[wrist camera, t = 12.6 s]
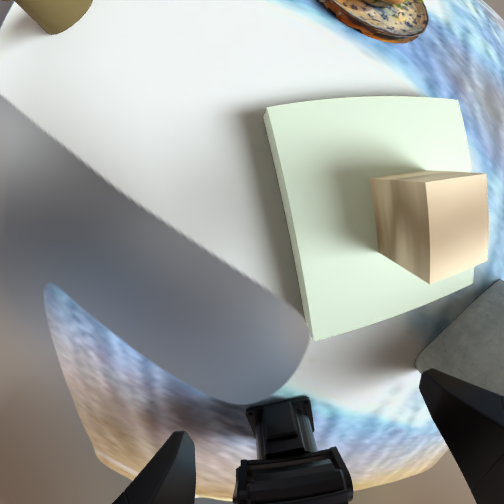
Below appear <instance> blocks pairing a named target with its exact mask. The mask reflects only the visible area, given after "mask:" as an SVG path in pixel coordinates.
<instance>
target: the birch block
mask: <svg viewBox="0 0 504 504" xmlns="http://www.w3.org/2000/svg"><path fill="white" fill-rule="evenodd" d="M369 180H370V186H371V193H372V199H373V206H374V214H375V222H376V231H377V241H378V253H380V254H382V255H383V256H385V257H387V258H388V259H390V260H392V261H393V262H395V263H396V264H398V265H400V266H401V267H403V268H404V269H406V270H408V271H409V272H411V273H412V274H414V275H416V276H417V277H419V278H420V279H422V280H423V281H425V282H426V283H428V284H429V285H430V284H433V283H435V282H438V281H440V280H443V279H445V278H448V277H450V276H453V275H455V274H458V273H460V272H462V271H465V270H467V269H469V268H472V267H474V266H476V265H479V264H481V263H483V262H485V261H487V257H488V234H489V215H488V192H487V180H486V174H483V173H471V172H455V171H432V170H425V171H417V172H410V173H403V174H396V175H390V176H383V177H377V178H371V179H369Z"/></svg>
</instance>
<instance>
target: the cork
mask: <svg viewBox="0 0 504 504" xmlns="http://www.w3.org/2000/svg"><path fill="white" fill-rule="evenodd" d="M3 1H10V0H3ZM14 1H15V2H16V3H17V4H18V5H19V6H20V7H21V8H22V9H23V10H24V11H25V12H26V13H27V14H28V15H29V16H31V17H32V18H33V19H34V20H35V21H36V22H37V23H38V24H39V25H40V26H41V27H42V28H43V29H44V30H45V31H46V32H47V33H49V34H51V35H52V34H58V33H61V32H63V31H65V30H66V29H68V28H69V27H71V26H72V25H73V24H75V23H76V22H77V21H78V20H79V19H80V18H81V17H82V16H83V15H84V14H85V13H86V11H87V10H88V9H89V7H90V6H91V3H92V1H93V0H14Z"/></svg>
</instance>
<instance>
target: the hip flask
mask: <svg viewBox="0 0 504 504" xmlns="http://www.w3.org/2000/svg"><path fill="white" fill-rule="evenodd" d="M415 367H416V368H417V369H418V371H419V372H420V373H421V374H422V372H423V371H425V370H427V369H429V368H434V369H437V370H439V371H442V372H444V373H446V374H449V375H451V376H454V377H456V378H459V379H461V380H464V381H466V382H469V383H471V384H474V385H476V386H479V387H481V388H484V389H487V390H489V391H492V392H494V393H497V394H500V395H503V396H504V281H502V280H498V281H496V282H495V283H494V284H493V285H492V286H490V287H489V288H488V289H487V290H486V291H485V292H483V293H482V294H481V295H480V296H479V297H478V298H477V299H476V300H475V301H473V302H472V303H471V304H470V305H469V306H468V307H467V308H466V309H465V310H464V311H463V312H462V313H461V314H460V315H459V316H458V317H457V318H455V319H454V320H453V321H452V322H451V323H450V324H449V325H448V326H447V327H446V328H445V329H444V330H443V331H442V332H441V333H440V334H439V335H438V336H437V337H436V338H435V339H434V340H433V341H432V342H431V343H430V344H429V345H428V346H427V347H426V348H425V349H424V350H423V351H422V352H421V353H420V354H419V355H418V357H417V359H416V361H415Z"/></svg>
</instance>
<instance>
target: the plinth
mask: <svg viewBox="0 0 504 504" xmlns="http://www.w3.org/2000/svg"><path fill="white" fill-rule="evenodd" d="M263 120H264V124H265V128H266V132H267V136H268V140H269V144H270V148H271V152H272V157H273V161H274V165H275V170H276V174H277V178H278V183H279V187H280V192H281V197H282V201H283V206H284V211H285V215H286V220H287V225H288V230H289V235H290V240H291V245H292V250H293V255H294V260H295V266H296V271H297V276H298V282H299V287H300V293H301V299H302V305H303V310H304V316H305V322H306V324H307V327H308V329H309V331H310V334H311V336H312V338H313V341H314V342H315V341H318V340H322V339H326V338H329V337H333V336H336V335H340V334H343V333H346V332H350V331H353V330H356V329H359V328H362V327H365V326H368V325H371V324H374V323H377V322H380V321H383V320H386V319H389V318H392V317H394V316H397V315H400V314H403V313H405V312H408V311H410V310H413V309H416V308H418V307H421V306H423V305H426V304H428V303H430V302H433V301H435V300H438V299H440V298H442V297H445V296H447V295H449V294H451V293H454V292H456V291H458V290H460V289H462V288H464V287H467V286H469V285H471V284H473V277H474V267H472V268H469V269H467V270H465V271H462V272H460V273H458V274H455V275H453V276H450V277H448V278H445V279H443V280H440V281H438V282H435V283H433V284H430V285H429V284H428V283H426V282H425V281H423V280H422V279H420V278H419V277H417V276H416V275H414V274H412V273H411V272H409V271H408V270H406V269H404V268H403V267H401V266H400V265H398V264H396V263H395V262H393V261H392V260H390V259H388V258H387V257H385V256H383V255H382V254H380V253H378V241H377V231H376V222H375V214H374V206H373V199H372V193H371V186H370V180H369V179H371V178H377V177H383V176H390V175H396V174H403V173H410V172H417V171H425V170H432V171H455V172H471V173H472V168H471V161H470V154H469V148H468V142H467V137H466V132H465V127H464V123H463V119H462V114H461V110H460V107H459V103H458V100H453V99H443V98H430V97H411V96H366V97H346V98H333V99H322V100H313V101H304V102H297V103H290V104H283V105H277V106H271V107H267V108H266V111H265V114H264V117H263Z"/></svg>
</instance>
